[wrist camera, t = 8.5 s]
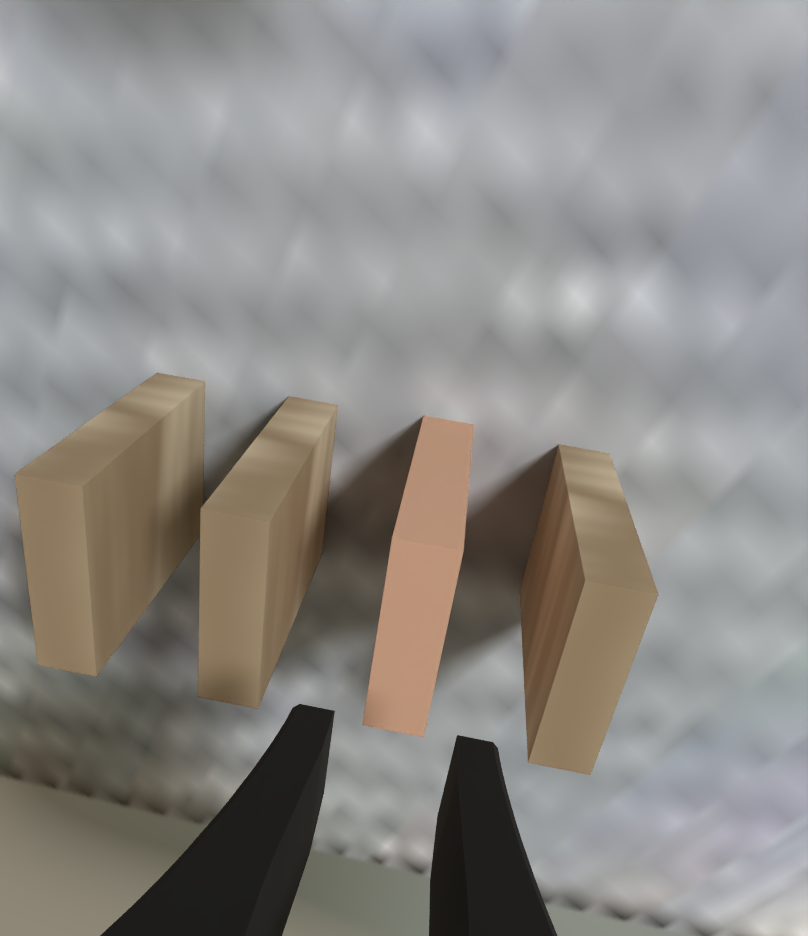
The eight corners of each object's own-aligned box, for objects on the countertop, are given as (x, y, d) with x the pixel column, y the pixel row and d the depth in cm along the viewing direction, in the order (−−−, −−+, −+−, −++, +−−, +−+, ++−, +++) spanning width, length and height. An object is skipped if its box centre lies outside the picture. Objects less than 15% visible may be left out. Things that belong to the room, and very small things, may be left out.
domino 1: (159, 523, 22) (37, 664, 16) (156, 372, 20) (14, 474, 14) (202, 531, 22) (96, 676, 16) (205, 381, 20) (82, 486, 14)
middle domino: (278, 545, 22) (197, 696, 16) (289, 396, 20) (200, 508, 14) (322, 554, 22) (257, 708, 16) (337, 405, 20) (269, 521, 14)
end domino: (519, 591, 21) (528, 762, 16) (558, 444, 19) (585, 580, 13) (565, 599, 21) (590, 774, 16) (609, 453, 19) (657, 594, 13)
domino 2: (398, 564, 22) (362, 725, 16) (423, 415, 19) (392, 537, 14) (443, 573, 22) (423, 736, 16) (473, 424, 19) (463, 551, 13)
